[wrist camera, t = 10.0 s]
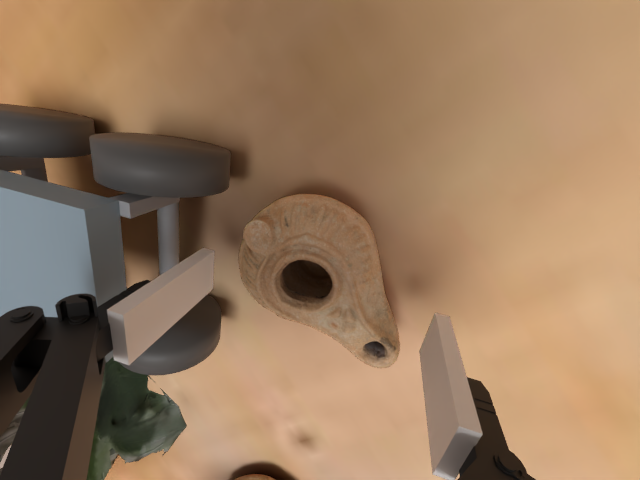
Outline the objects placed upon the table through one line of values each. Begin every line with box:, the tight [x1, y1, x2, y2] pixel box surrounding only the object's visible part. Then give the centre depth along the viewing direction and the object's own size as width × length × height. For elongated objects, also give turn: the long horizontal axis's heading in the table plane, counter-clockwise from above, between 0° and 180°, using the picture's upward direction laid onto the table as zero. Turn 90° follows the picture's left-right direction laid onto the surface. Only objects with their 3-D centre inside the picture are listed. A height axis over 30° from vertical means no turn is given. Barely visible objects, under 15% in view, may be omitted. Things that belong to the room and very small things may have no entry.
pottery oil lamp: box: [238, 194, 400, 368], centre depth 19 cm, size 9×12×7 cm
